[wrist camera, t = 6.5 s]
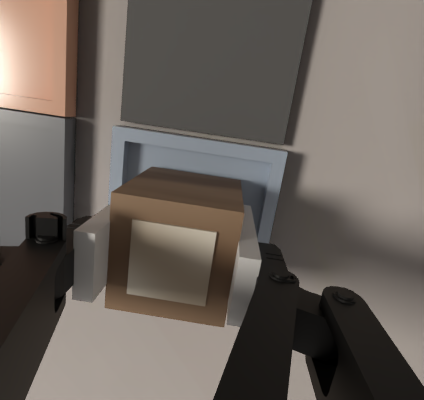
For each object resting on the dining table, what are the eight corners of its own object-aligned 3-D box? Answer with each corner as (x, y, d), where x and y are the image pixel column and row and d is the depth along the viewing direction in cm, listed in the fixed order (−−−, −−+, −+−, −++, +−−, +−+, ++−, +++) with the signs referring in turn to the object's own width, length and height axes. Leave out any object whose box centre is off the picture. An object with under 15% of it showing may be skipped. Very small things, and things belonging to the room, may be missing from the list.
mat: (136, -67, 15) (132, -75, 15) (318, -43, 15) (322, -49, 14) (124, 120, 18) (120, 120, 17) (281, 144, 17) (283, 144, 17)
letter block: (151, 166, 17) (109, 192, 11) (240, 180, 17) (244, 213, 11) (144, 249, 19) (103, 311, 13) (226, 262, 19) (223, 331, 13)
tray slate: (120, 125, 18) (112, 125, 16) (284, 149, 17) (287, 152, 16) (111, 272, 20) (103, 281, 19) (254, 295, 20) (255, 306, 19)
